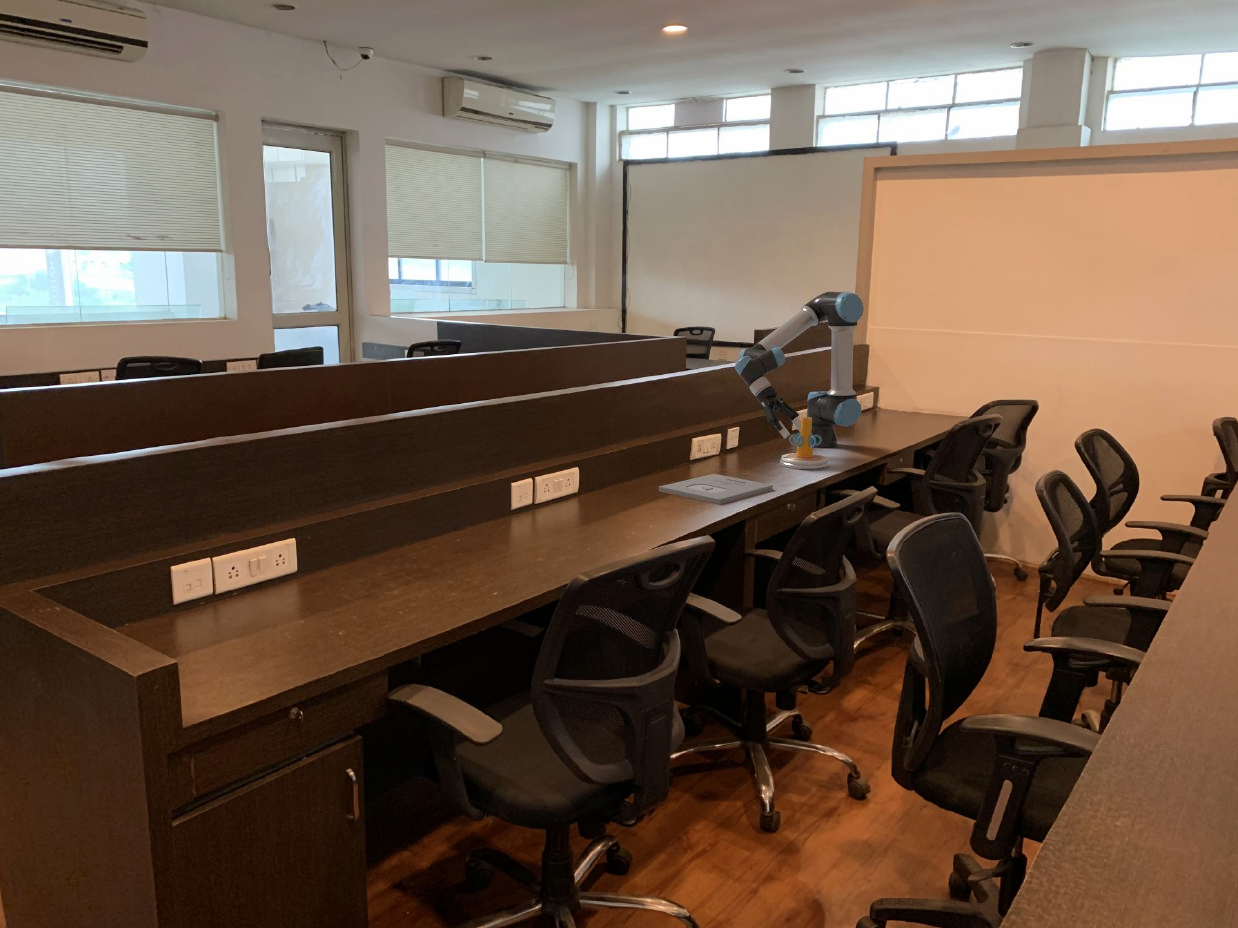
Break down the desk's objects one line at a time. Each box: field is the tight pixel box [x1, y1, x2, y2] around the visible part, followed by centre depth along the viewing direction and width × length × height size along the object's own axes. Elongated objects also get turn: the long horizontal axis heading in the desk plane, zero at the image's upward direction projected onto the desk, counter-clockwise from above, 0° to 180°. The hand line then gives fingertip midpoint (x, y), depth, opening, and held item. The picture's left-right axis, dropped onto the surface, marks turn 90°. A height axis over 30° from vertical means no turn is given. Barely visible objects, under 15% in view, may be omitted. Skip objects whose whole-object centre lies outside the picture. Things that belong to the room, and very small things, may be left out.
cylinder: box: [788, 416, 822, 458], centre depth 350 cm, size 12×10×15 cm
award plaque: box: [658, 473, 774, 505], centre depth 307 cm, size 25×30×2 cm
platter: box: [781, 452, 828, 466], centre depth 351 cm, size 17×17×2 cm
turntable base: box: [779, 458, 829, 471], centre depth 352 cm, size 18×18×2 cm
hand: (796, 434), depth 352 cm, fingers open, 13 cm apart
